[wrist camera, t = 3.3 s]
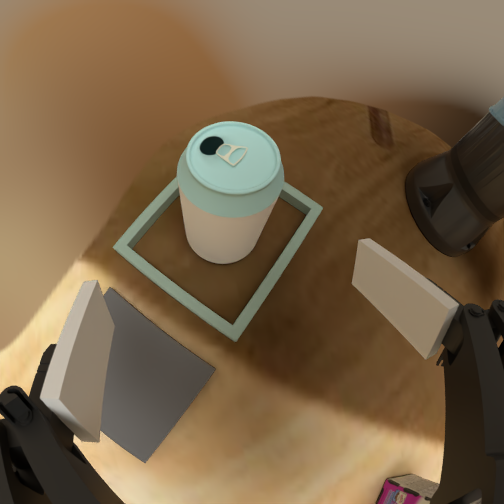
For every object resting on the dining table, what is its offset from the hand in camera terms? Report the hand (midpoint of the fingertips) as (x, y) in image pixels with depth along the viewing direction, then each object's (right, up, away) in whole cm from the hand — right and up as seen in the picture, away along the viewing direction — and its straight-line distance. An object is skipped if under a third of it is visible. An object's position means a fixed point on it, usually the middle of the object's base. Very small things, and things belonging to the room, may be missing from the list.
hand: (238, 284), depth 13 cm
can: (-2, +3, +14) cm, 15 cm away
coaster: (-11, -10, +8) cm, 17 cm away
